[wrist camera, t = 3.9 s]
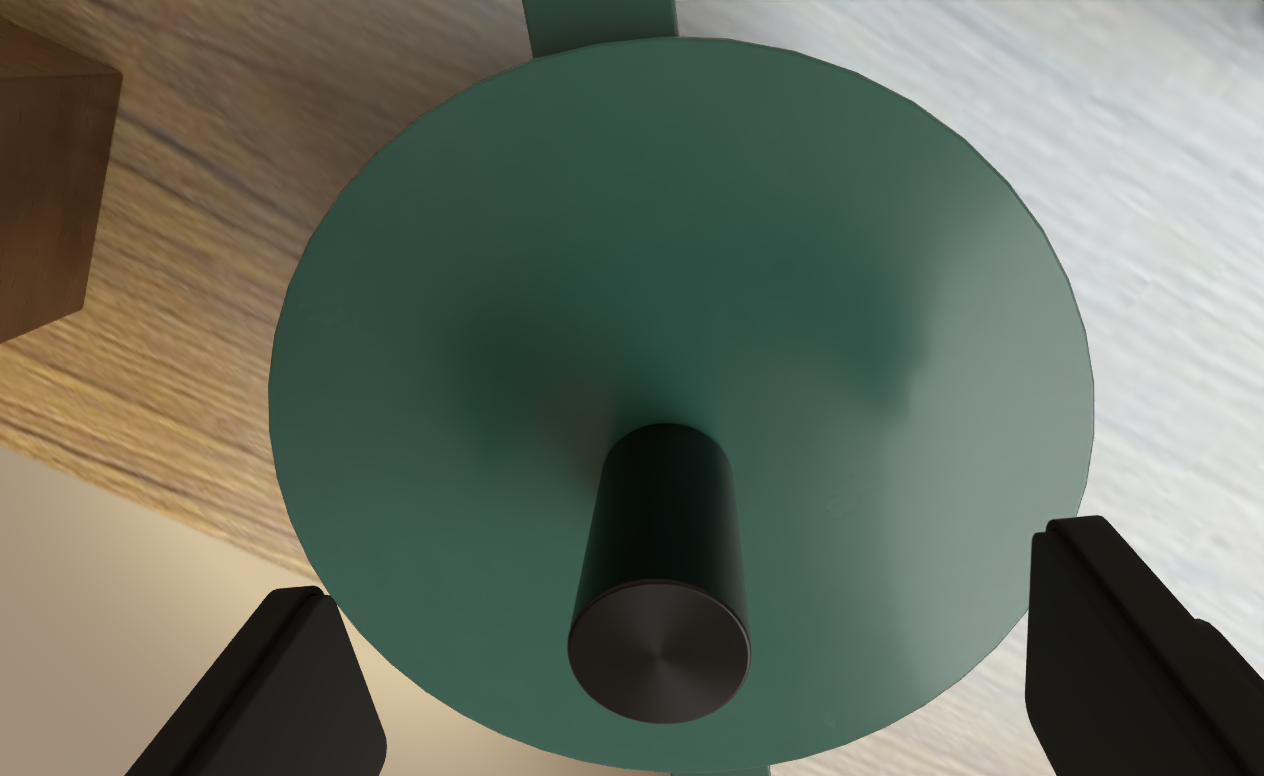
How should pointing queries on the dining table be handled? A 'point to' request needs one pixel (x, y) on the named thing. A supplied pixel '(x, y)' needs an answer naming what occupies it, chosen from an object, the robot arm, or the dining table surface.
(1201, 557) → the dining table surface
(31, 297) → the block
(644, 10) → the pot
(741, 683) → the lid
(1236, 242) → the dining table surface
